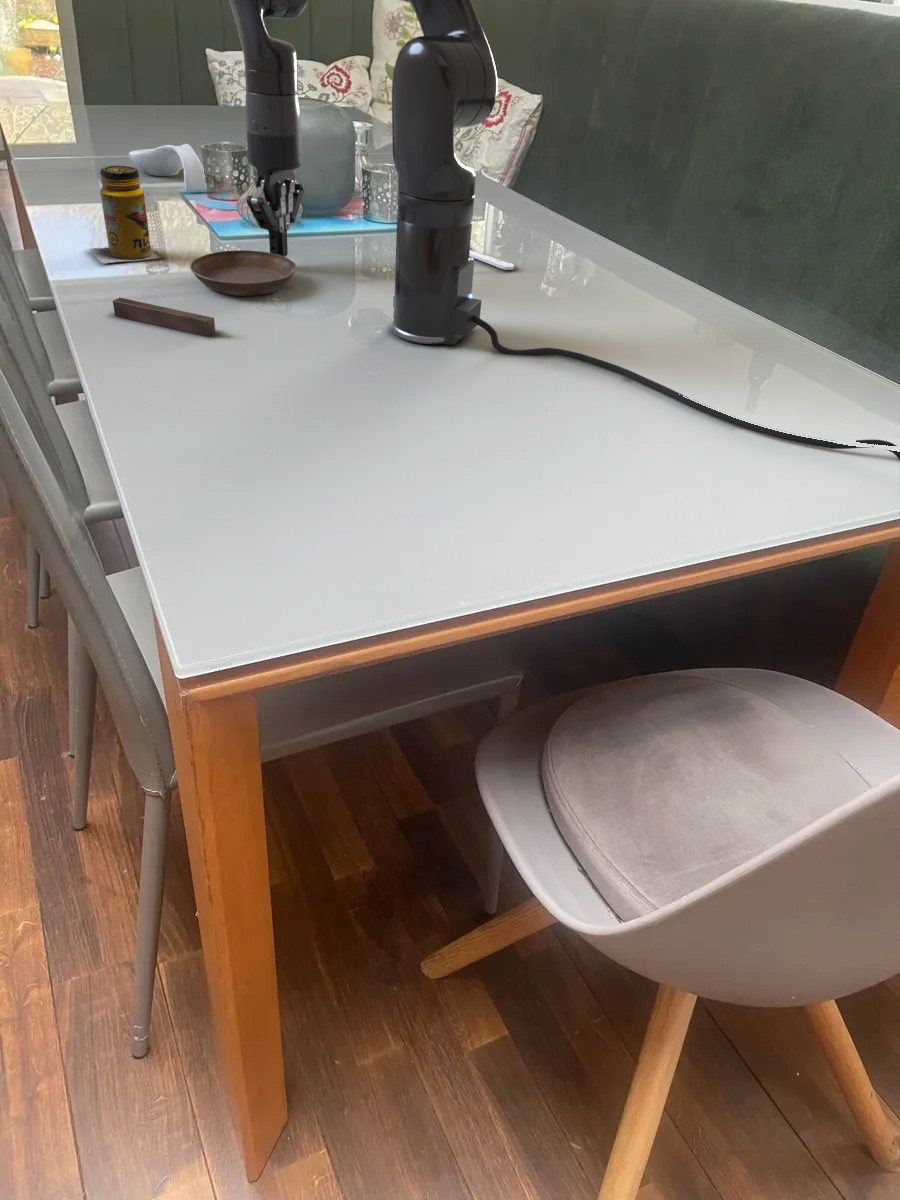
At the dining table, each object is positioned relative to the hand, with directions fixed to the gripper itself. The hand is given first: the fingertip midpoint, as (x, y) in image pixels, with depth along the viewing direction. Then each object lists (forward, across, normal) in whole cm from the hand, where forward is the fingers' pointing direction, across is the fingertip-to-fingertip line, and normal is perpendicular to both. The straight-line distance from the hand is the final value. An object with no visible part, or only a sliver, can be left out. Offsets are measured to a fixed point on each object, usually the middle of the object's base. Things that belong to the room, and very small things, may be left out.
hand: (279, 256), depth 134 cm
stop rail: (+2, -29, 0) cm, 29 cm away
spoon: (+2, +23, -23) cm, 33 cm away
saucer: (+2, -10, 0) cm, 10 cm away
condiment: (+2, -8, +22) cm, 23 cm away
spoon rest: (+2, +38, +45) cm, 59 cm away
